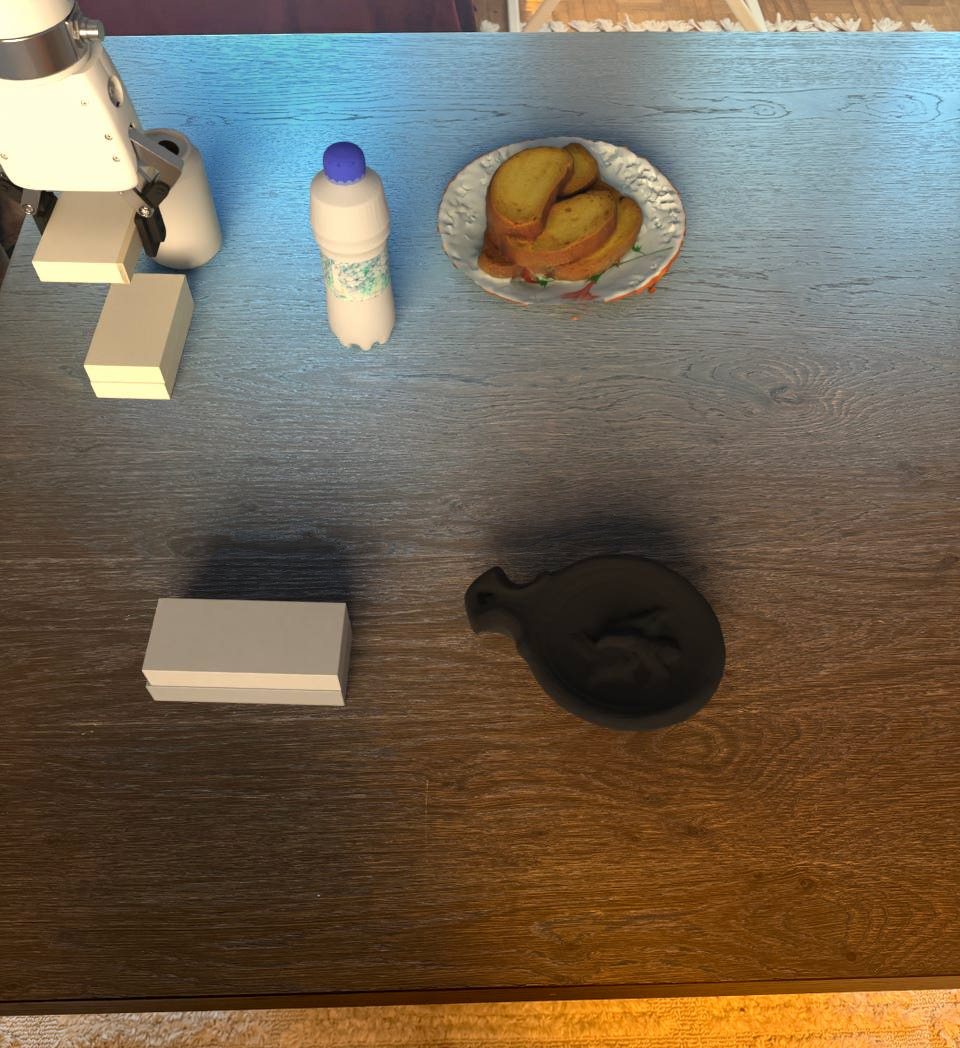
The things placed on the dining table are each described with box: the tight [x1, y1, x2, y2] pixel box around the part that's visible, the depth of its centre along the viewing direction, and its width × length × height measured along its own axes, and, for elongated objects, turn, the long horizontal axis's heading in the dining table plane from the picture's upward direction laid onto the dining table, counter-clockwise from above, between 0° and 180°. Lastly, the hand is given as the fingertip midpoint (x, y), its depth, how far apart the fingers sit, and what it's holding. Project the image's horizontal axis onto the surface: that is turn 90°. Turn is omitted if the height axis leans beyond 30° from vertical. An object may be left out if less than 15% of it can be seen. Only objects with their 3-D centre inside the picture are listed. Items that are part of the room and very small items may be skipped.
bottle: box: [309, 140, 397, 352], centre depth 84 cm, size 7×7×20 cm
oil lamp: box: [463, 553, 727, 733], centre depth 71 cm, size 15×20×5 cm
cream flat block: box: [31, 166, 158, 284], centre depth 78 cm, size 12×7×2 cm, turn 179°
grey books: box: [141, 597, 353, 707], centre depth 70 cm, size 14×6×5 cm, turn 89°
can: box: [137, 127, 223, 271], centre depth 93 cm, size 8×8×12 cm
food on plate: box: [436, 136, 687, 321], centre depth 97 cm, size 25×25×7 cm
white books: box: [83, 272, 196, 400], centre depth 89 cm, size 12×7×4 cm, turn 179°
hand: (108, 243), depth 80 cm, fingers closed on cream flat block, 7 cm apart
